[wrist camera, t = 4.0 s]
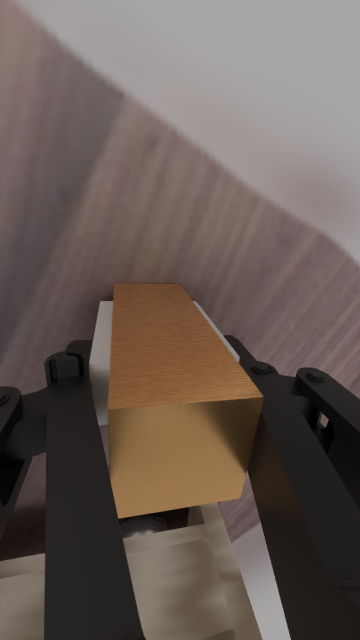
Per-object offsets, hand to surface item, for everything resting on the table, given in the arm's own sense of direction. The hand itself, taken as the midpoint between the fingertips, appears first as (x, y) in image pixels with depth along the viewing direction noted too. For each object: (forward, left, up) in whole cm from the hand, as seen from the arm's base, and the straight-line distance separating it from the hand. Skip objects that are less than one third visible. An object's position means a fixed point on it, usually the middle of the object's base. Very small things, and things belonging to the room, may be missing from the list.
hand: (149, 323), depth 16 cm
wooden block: (0, -7, -1) cm, 7 cm away
